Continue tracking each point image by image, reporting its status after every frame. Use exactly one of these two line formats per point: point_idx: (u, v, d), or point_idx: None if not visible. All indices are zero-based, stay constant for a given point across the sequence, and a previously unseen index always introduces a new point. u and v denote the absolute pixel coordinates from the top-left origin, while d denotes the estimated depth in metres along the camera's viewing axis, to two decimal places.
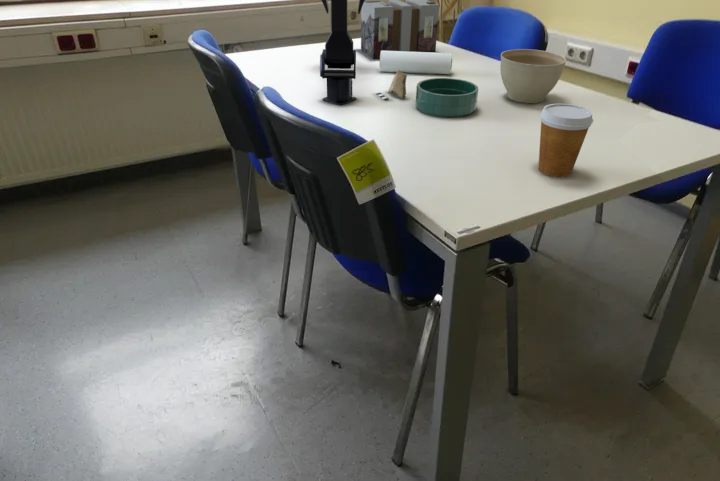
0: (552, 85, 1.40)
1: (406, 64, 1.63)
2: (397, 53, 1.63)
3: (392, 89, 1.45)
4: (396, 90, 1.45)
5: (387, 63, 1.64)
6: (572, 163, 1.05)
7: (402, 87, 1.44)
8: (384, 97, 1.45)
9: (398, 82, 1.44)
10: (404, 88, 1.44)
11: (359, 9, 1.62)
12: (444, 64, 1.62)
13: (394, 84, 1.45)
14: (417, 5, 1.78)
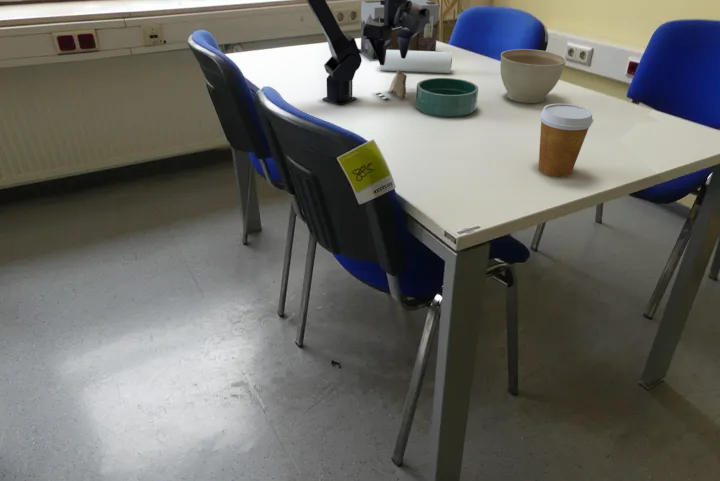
0: (552, 85, 1.40)
1: (407, 58, 1.64)
2: (398, 50, 1.66)
3: (392, 89, 1.45)
4: (396, 90, 1.45)
5: (388, 57, 1.64)
6: (572, 163, 1.05)
7: (402, 87, 1.44)
8: (384, 97, 1.45)
9: (398, 82, 1.44)
10: (404, 88, 1.44)
11: None
12: (444, 58, 1.63)
13: (394, 84, 1.45)
14: (417, 5, 1.78)
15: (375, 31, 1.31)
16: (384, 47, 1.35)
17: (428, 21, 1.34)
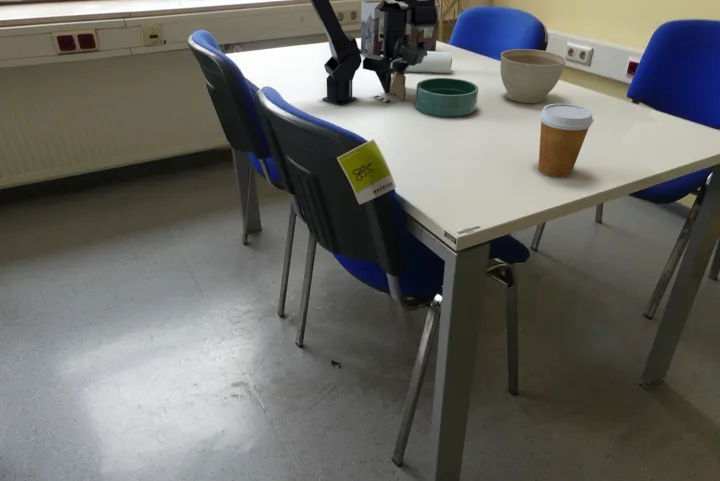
0: (552, 85, 1.40)
1: None
2: None
3: (391, 91, 1.44)
4: (396, 92, 1.43)
5: None
6: (572, 163, 1.05)
7: (403, 88, 1.43)
8: (385, 100, 1.43)
9: (398, 83, 1.43)
10: (404, 89, 1.43)
11: None
12: (444, 58, 1.63)
13: (393, 86, 1.43)
14: None
15: (375, 65, 1.35)
16: (389, 77, 1.41)
17: (426, 54, 1.39)
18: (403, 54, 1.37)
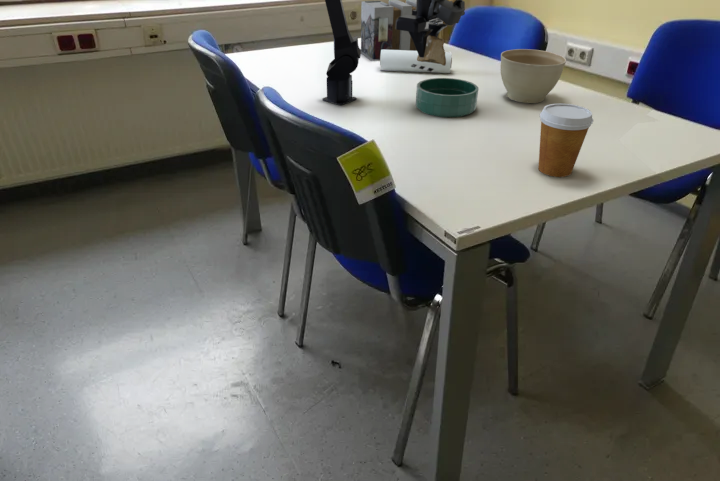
0: (552, 85, 1.40)
1: (407, 58, 1.64)
2: (398, 50, 1.66)
3: (430, 57, 1.34)
4: (435, 57, 1.34)
5: (388, 57, 1.64)
6: (572, 163, 1.05)
7: (442, 52, 1.33)
8: (426, 68, 1.33)
9: (437, 48, 1.33)
10: (444, 53, 1.34)
11: None
12: None
13: (432, 51, 1.33)
14: None
15: (410, 24, 1.25)
16: (424, 38, 1.32)
17: (463, 13, 1.29)
18: (439, 13, 1.27)
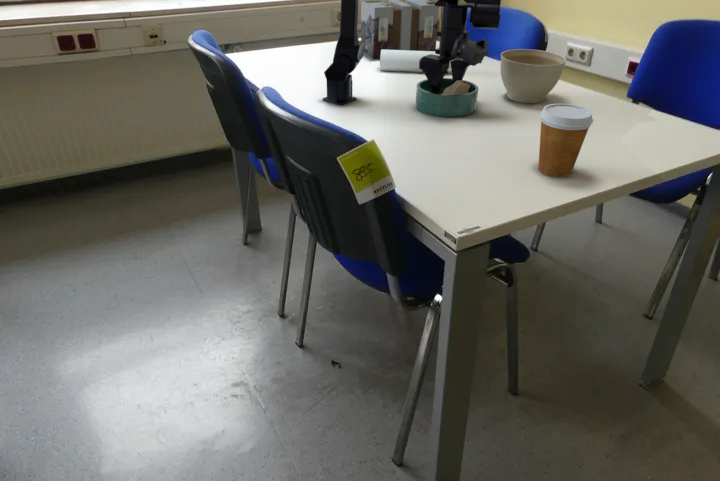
0: (552, 85, 1.40)
1: (407, 58, 1.64)
2: (398, 50, 1.66)
3: None
4: None
5: (388, 57, 1.64)
6: (572, 163, 1.05)
7: None
8: None
9: (463, 90, 1.36)
10: None
11: None
12: None
13: (457, 91, 1.36)
14: (417, 5, 1.78)
15: (433, 65, 1.26)
16: (440, 80, 1.30)
17: (486, 53, 1.29)
18: (463, 53, 1.28)
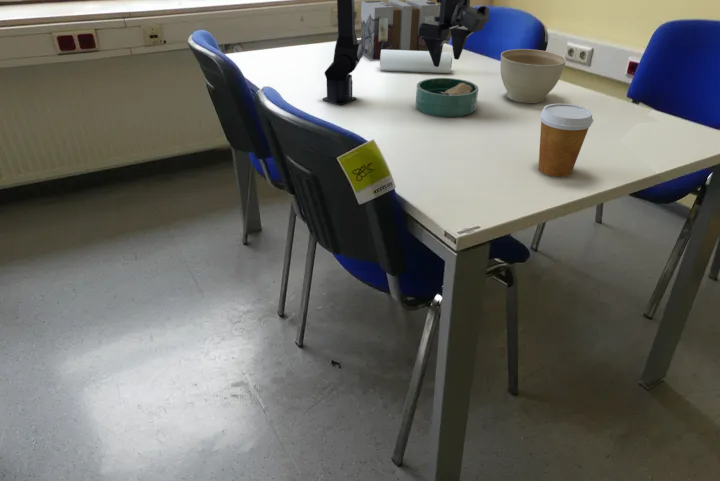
0: (552, 85, 1.40)
1: (407, 58, 1.64)
2: (398, 50, 1.66)
3: (456, 94, 1.36)
4: None
5: (388, 57, 1.64)
6: (572, 163, 1.05)
7: None
8: None
9: (465, 90, 1.37)
10: None
11: None
12: (444, 58, 1.63)
13: (459, 90, 1.36)
14: (417, 5, 1.78)
15: (433, 31, 1.23)
16: (440, 47, 1.27)
17: (487, 20, 1.26)
18: (463, 19, 1.24)
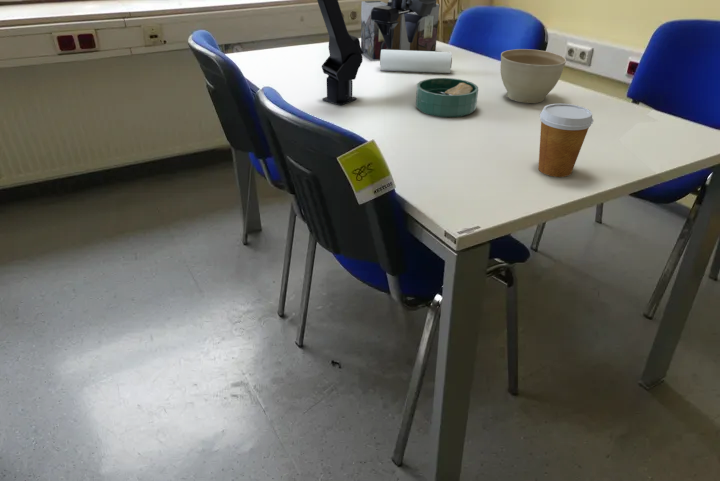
0: (552, 85, 1.40)
1: (407, 58, 1.64)
2: (398, 50, 1.66)
3: (456, 94, 1.36)
4: None
5: (388, 57, 1.64)
6: (572, 163, 1.05)
7: None
8: None
9: (465, 90, 1.37)
10: None
11: None
12: (444, 58, 1.63)
13: (459, 90, 1.36)
14: None
15: (383, 14, 1.33)
16: (391, 30, 1.38)
17: (435, 5, 1.37)
18: (412, 4, 1.35)
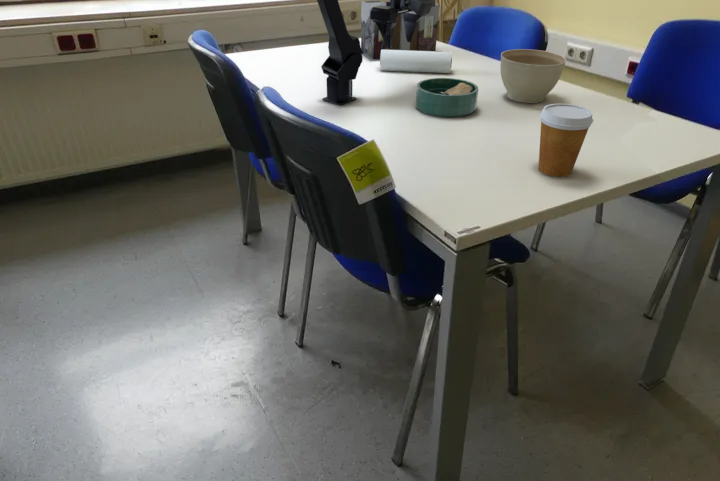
0: (552, 85, 1.40)
1: (407, 58, 1.64)
2: (398, 50, 1.66)
3: (456, 94, 1.36)
4: None
5: (388, 57, 1.64)
6: (572, 163, 1.05)
7: None
8: None
9: (465, 90, 1.37)
10: None
11: None
12: (444, 58, 1.63)
13: (459, 90, 1.36)
14: None
15: (382, 14, 1.34)
16: (390, 30, 1.38)
17: (433, 4, 1.37)
18: (411, 4, 1.35)
